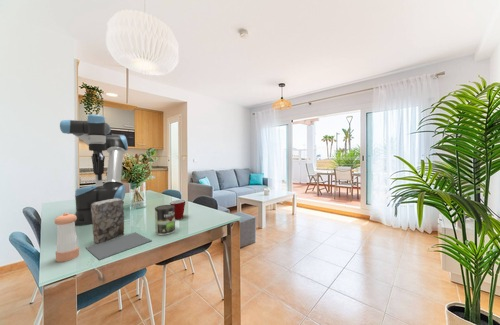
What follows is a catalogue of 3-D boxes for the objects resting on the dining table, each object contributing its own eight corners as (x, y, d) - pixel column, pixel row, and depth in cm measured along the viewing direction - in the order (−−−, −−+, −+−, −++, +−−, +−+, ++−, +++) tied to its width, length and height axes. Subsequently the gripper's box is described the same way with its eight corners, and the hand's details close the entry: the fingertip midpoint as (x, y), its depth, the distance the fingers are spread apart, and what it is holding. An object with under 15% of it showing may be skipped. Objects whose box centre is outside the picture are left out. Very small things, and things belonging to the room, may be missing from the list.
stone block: (100, 244, 97) (98, 204, 96) (91, 242, 99) (89, 202, 98) (126, 234, 109) (124, 198, 108) (117, 232, 112) (116, 197, 111)
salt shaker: (83, 252, 89) (81, 210, 88) (69, 261, 81) (66, 215, 80) (66, 253, 88) (64, 210, 88) (50, 262, 81) (48, 216, 80)
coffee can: (179, 230, 114) (178, 206, 113) (163, 236, 105) (162, 210, 105) (167, 226, 119) (167, 203, 119) (151, 232, 111) (150, 207, 110)
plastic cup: (174, 215, 142) (173, 198, 141) (188, 215, 140) (188, 199, 140) (166, 220, 131) (165, 202, 130) (182, 220, 130) (181, 202, 129)
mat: (85, 248, 93) (85, 247, 93) (135, 232, 111) (135, 232, 111) (99, 260, 82) (99, 259, 82) (151, 241, 100) (151, 240, 100)
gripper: (85, 143, 110) (86, 186, 111) (93, 142, 102) (95, 188, 103) (101, 144, 116) (102, 184, 117) (109, 143, 108) (111, 186, 109)
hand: (99, 186), depth 110 cm, fingers closed
